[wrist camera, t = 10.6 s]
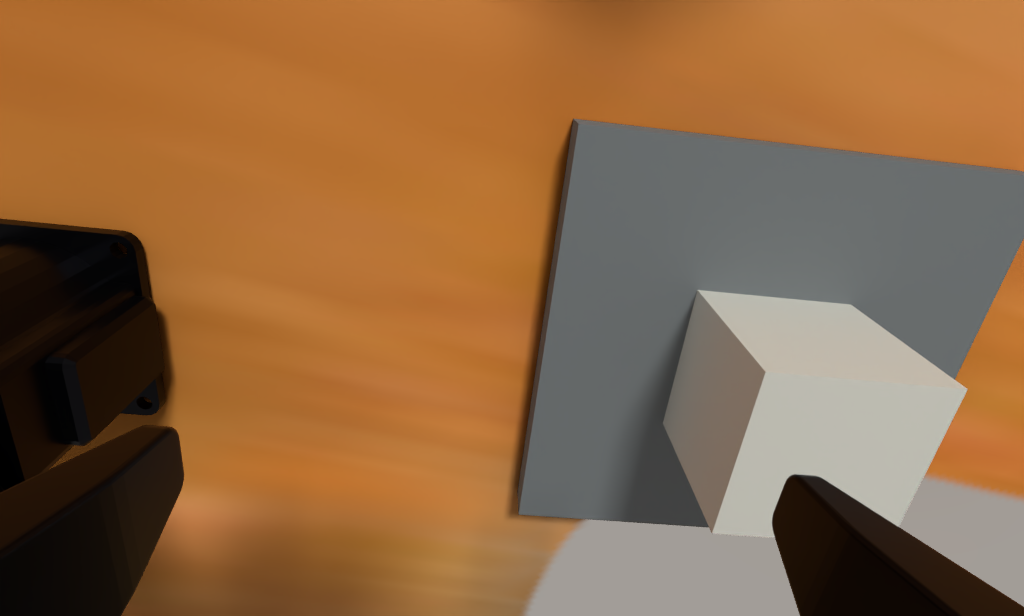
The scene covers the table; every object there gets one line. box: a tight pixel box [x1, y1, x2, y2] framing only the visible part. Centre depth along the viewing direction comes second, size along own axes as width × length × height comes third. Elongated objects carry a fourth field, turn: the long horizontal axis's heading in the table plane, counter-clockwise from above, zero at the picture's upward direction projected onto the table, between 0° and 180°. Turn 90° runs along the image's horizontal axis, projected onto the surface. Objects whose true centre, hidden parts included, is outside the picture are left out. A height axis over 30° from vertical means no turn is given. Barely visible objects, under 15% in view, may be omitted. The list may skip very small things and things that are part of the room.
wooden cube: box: [663, 290, 968, 538], centre depth 17 cm, size 5×5×5 cm
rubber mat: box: [518, 119, 1024, 527], centre depth 20 cm, size 14×14×1 cm
